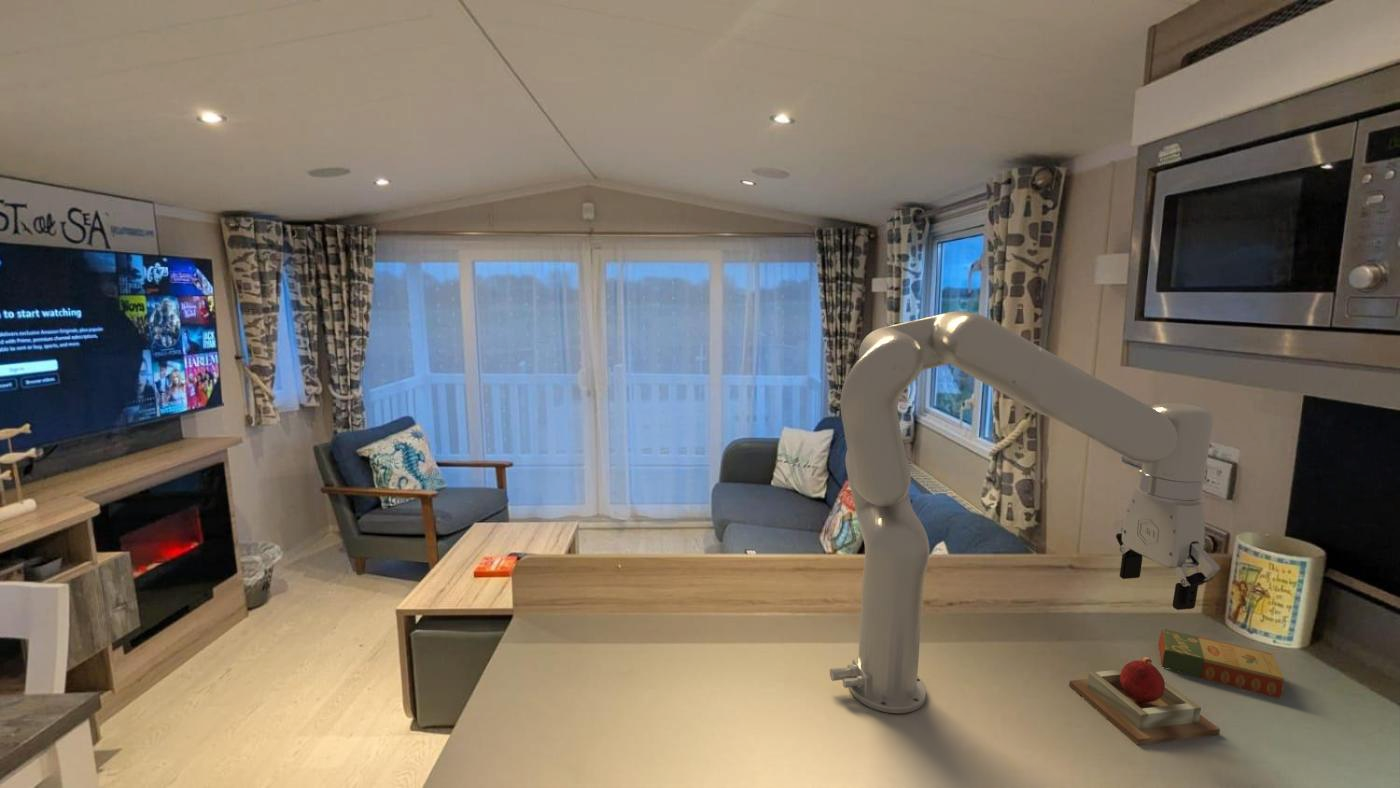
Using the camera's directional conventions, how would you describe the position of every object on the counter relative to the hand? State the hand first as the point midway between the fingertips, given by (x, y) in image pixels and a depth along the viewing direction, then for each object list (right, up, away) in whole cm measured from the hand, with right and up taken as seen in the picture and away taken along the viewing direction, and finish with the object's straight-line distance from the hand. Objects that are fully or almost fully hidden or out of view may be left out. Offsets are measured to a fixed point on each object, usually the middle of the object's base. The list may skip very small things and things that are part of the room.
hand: (1155, 592), depth 98 cm
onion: (0, -19, +4) cm, 19 cm away
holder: (0, -20, +4) cm, 20 cm away
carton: (+20, -19, +14) cm, 31 cm away
